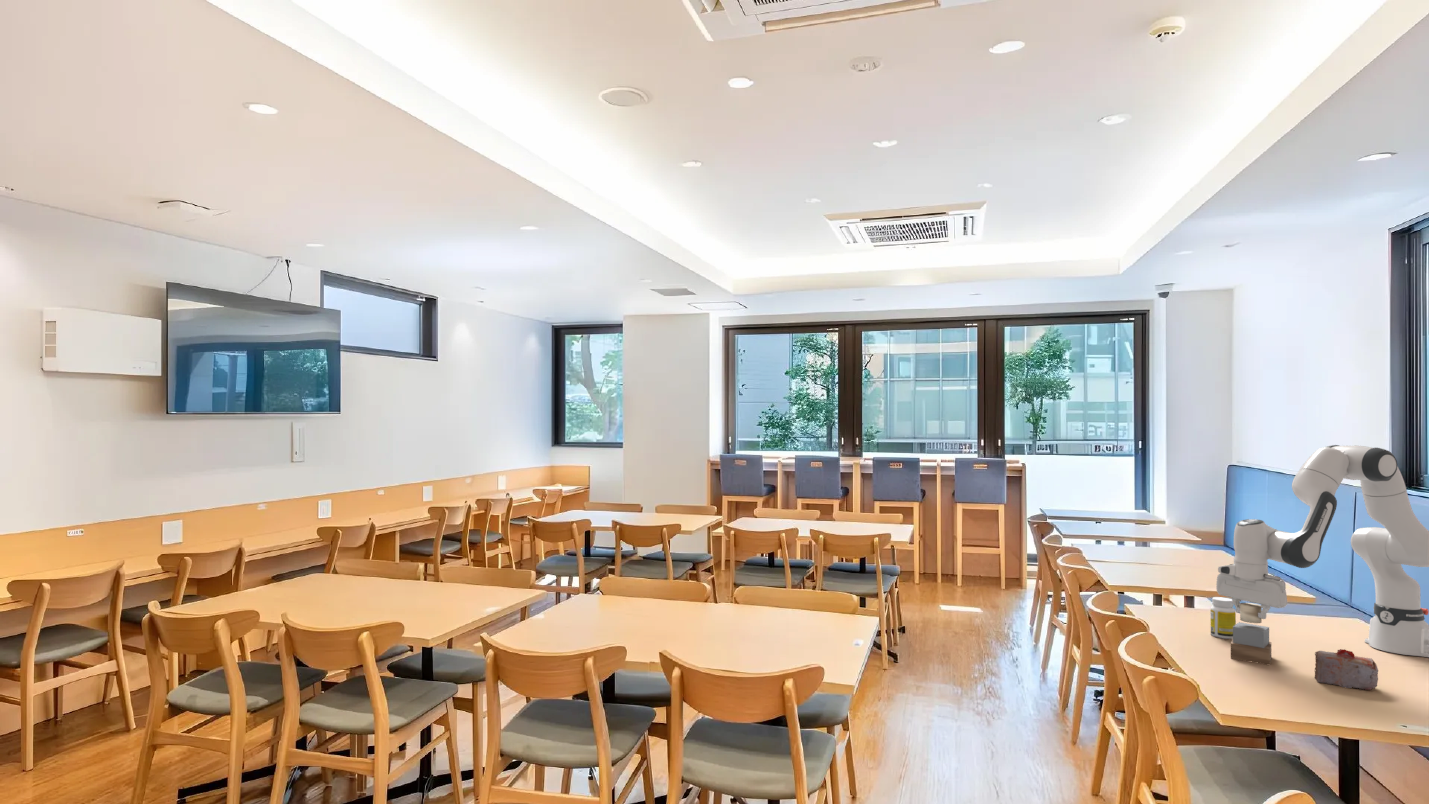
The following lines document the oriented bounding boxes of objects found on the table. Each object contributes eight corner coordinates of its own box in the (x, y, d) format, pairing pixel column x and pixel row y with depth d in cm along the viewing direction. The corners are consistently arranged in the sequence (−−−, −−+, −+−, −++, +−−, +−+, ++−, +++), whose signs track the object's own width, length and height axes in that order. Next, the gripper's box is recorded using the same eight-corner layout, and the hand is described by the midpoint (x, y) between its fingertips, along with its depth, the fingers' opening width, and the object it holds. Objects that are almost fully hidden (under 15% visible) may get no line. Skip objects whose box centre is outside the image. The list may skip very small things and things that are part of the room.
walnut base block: (1233, 651, 250) (1233, 636, 250) (1271, 658, 244) (1271, 642, 244) (1230, 659, 242) (1230, 643, 242) (1270, 665, 236) (1269, 649, 236)
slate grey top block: (1238, 637, 249) (1238, 622, 249) (1269, 643, 243) (1269, 627, 243) (1232, 642, 243) (1232, 626, 243) (1263, 648, 237) (1263, 631, 238)
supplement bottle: (1240, 638, 265) (1240, 600, 265) (1226, 640, 263) (1226, 602, 263) (1219, 632, 272) (1219, 595, 272) (1205, 634, 269) (1205, 597, 270)
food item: (1374, 685, 219) (1374, 650, 219) (1379, 694, 212) (1379, 657, 212) (1313, 676, 226) (1313, 642, 226) (1316, 684, 219) (1316, 649, 220)
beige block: (1248, 618, 247) (1248, 602, 247) (1265, 622, 242) (1265, 606, 242) (1236, 619, 245) (1236, 603, 245) (1253, 623, 240) (1253, 607, 240)
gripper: (1292, 577, 235) (1292, 623, 235) (1226, 565, 254) (1226, 607, 254) (1278, 578, 233) (1278, 625, 233) (1213, 566, 252) (1213, 609, 252)
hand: (1250, 615), depth 244 cm, fingers closed on beige block, 5 cm apart
